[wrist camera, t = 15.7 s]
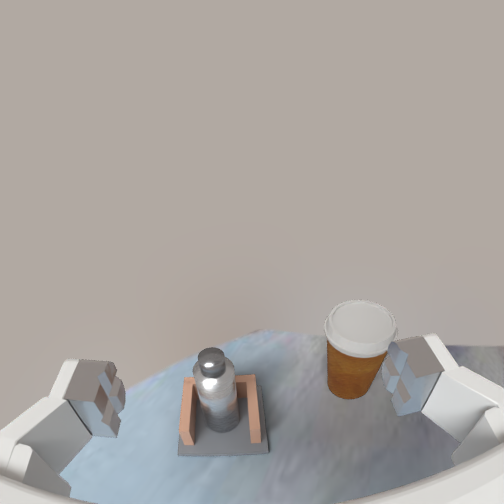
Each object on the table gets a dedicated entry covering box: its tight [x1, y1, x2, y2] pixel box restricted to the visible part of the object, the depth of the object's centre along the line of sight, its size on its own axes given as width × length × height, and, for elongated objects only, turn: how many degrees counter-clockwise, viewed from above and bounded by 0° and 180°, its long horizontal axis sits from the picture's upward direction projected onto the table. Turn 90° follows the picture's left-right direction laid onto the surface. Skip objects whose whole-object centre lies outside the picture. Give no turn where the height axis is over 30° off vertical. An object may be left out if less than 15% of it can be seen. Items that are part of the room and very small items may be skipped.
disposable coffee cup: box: [324, 300, 398, 399], centre depth 40 cm, size 10×10×12 cm
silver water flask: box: [193, 348, 240, 433], centre depth 36 cm, size 4×4×12 cm
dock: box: [178, 374, 269, 456], centre depth 38 cm, size 11×11×4 cm
